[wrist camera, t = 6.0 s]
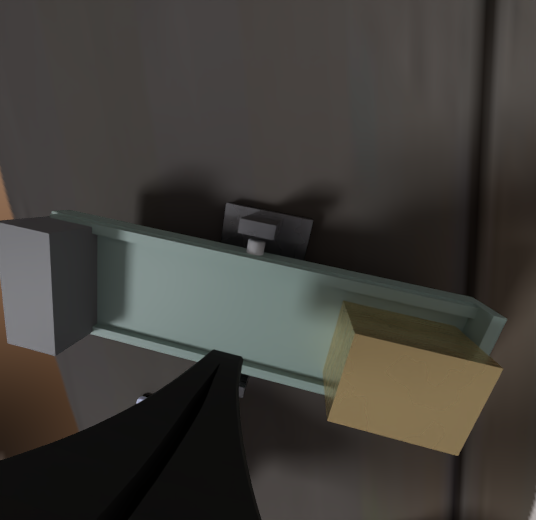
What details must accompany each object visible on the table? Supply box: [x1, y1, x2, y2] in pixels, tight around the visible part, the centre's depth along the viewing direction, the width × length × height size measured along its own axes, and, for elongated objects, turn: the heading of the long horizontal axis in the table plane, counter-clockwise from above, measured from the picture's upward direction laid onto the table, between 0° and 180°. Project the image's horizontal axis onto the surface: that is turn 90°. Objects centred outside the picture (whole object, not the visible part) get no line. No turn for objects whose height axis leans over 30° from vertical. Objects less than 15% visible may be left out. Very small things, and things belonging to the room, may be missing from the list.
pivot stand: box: [221, 202, 313, 398], centre depth 17 cm, size 12×6×5 cm, turn 169°
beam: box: [0, 210, 507, 395], centre depth 14 cm, size 9×25×4 cm, turn 79°
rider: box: [323, 301, 503, 456], centre depth 13 cm, size 5×6×4 cm
